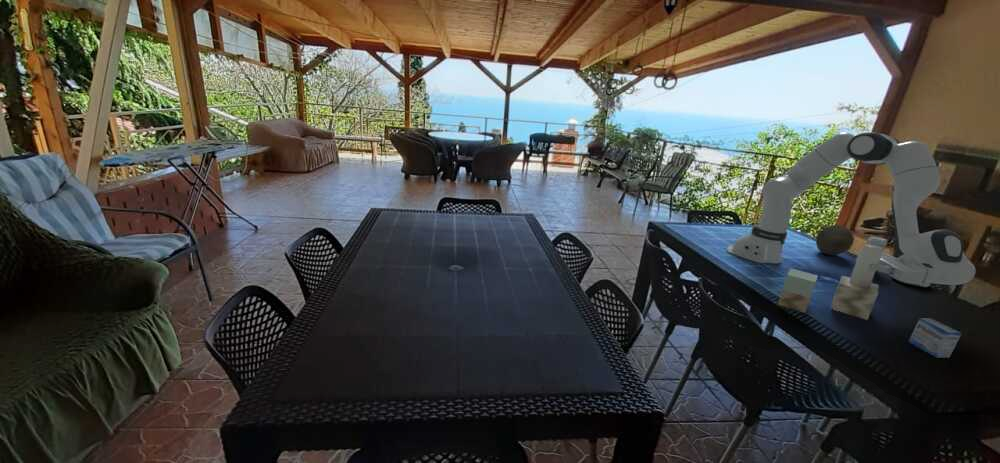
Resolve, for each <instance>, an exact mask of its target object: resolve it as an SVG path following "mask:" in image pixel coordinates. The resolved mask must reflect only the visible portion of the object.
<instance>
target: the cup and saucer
mask: <svg viewBox="0 0 1000 463" xmlns="http://www.w3.org/2000/svg"><path fill="white" fill-rule="evenodd" d="M893 279H894V280H896V281H897V282H900V283H901V284H905V285H909V286H911V285H912V287H916V286H917V287H918V288H924V287H923V286H920V285H917V284H910V283H905V282H902V281H899V280H897V279H895V278H893ZM932 285H933V283H930V285H929V286H928V287H931V286H932ZM917 287H916V288H917ZM928 287H927V288H928Z"/></svg>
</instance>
